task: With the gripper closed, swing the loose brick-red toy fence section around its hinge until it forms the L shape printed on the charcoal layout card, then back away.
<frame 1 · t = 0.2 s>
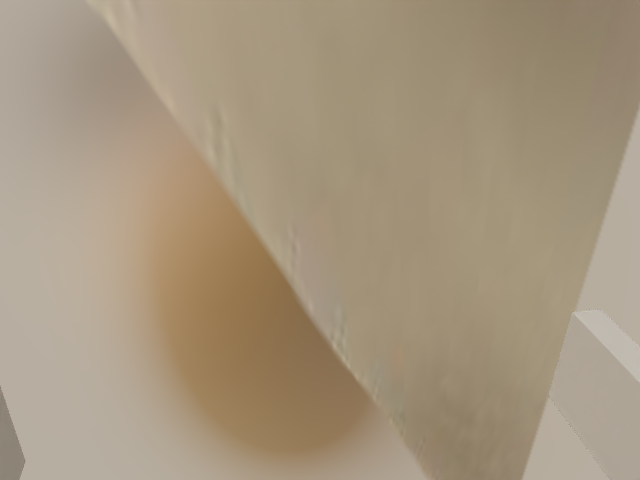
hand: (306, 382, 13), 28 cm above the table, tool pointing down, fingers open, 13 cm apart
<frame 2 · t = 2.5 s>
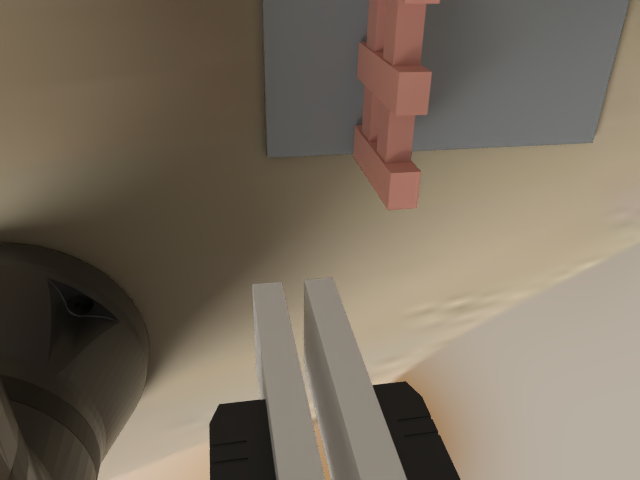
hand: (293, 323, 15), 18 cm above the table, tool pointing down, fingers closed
fence gate: (392, 51, 26), point 5 cm above the table, hinge at -90.0°
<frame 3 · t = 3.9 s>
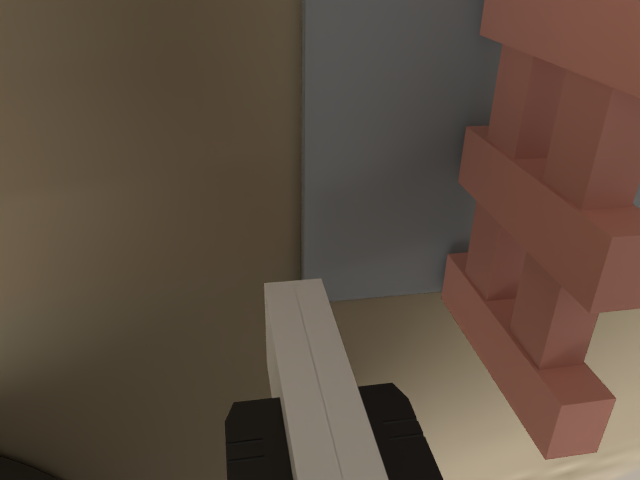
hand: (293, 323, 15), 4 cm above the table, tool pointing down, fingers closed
fence gate: (555, 163, 14), point 5 cm above the table, hinge at -90.0°
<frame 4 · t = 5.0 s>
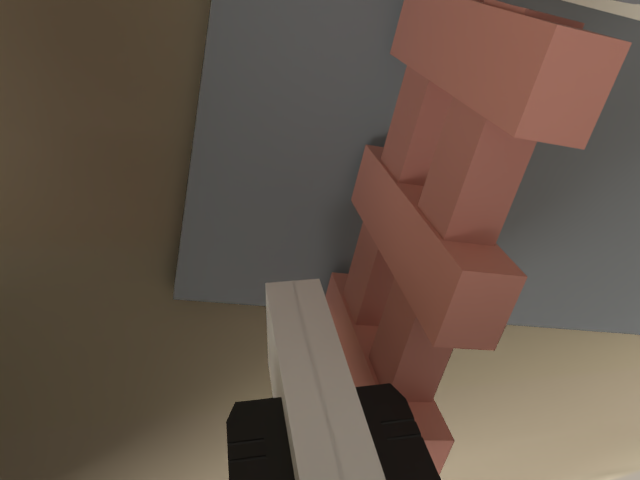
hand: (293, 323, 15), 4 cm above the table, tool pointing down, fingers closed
fence gate: (435, 192, 14), point 5 cm above the table, hinge at -89.7°, touching gripper
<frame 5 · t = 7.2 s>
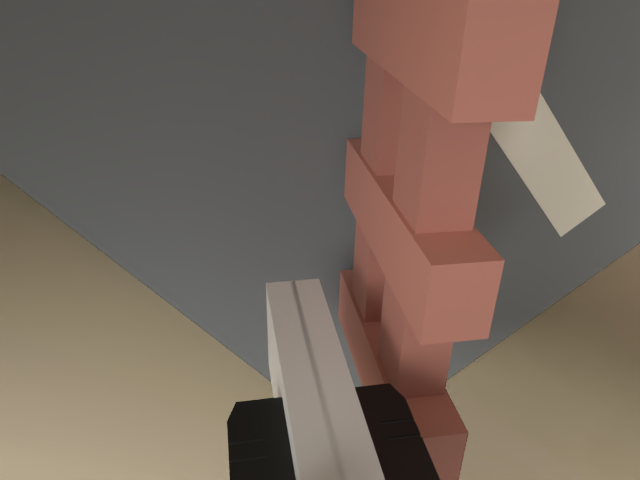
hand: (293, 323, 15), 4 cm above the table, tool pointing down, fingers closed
layout card: (451, 56, 17), on the table
fence gate: (412, 181, 13), point 5 cm above the table, hinge at -40.6°, touching gripper
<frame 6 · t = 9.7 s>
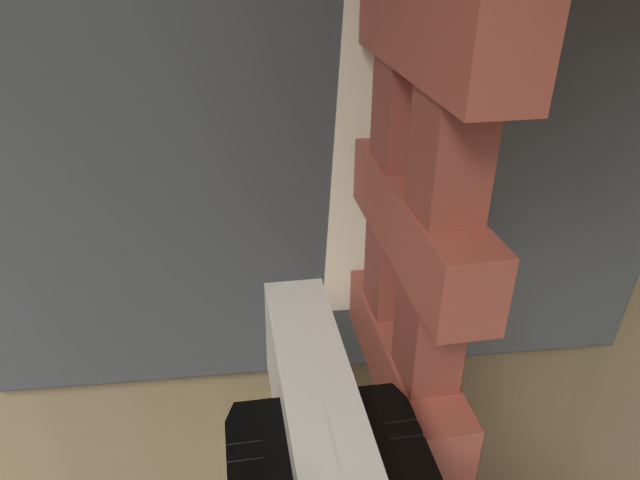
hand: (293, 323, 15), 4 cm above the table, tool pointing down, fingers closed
layout card: (347, 82, 16), on the table
fence gate: (423, 181, 13), point 5 cm above the table, hinge at 3.2°
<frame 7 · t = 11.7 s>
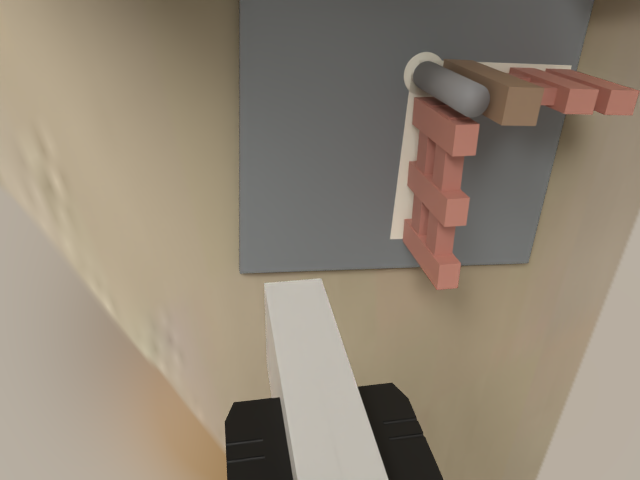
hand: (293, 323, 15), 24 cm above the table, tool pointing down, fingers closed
layout card: (405, 138, 40), on the table
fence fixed: (421, 72, 38), resting on layout card
fence gate: (438, 176, 36), point 5 cm above the table, hinge at 3.2°
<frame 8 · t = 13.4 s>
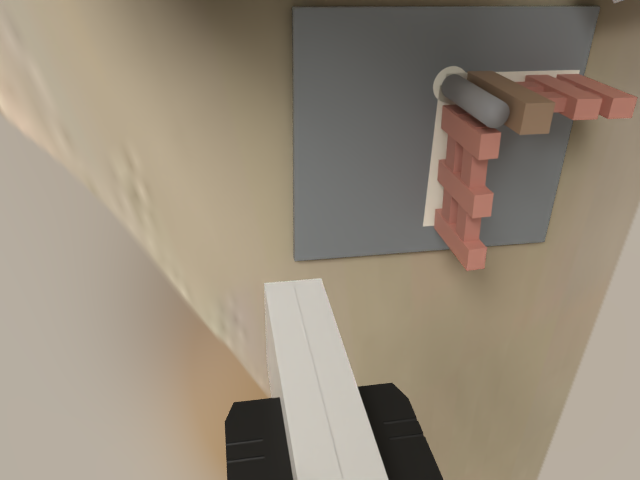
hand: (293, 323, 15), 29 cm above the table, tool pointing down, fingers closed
layout card: (434, 139, 46), on the table
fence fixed: (447, 83, 44), resting on layout card
fence gate: (465, 173, 42), point 5 cm above the table, hinge at 3.2°
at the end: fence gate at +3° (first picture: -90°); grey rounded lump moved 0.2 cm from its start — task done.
